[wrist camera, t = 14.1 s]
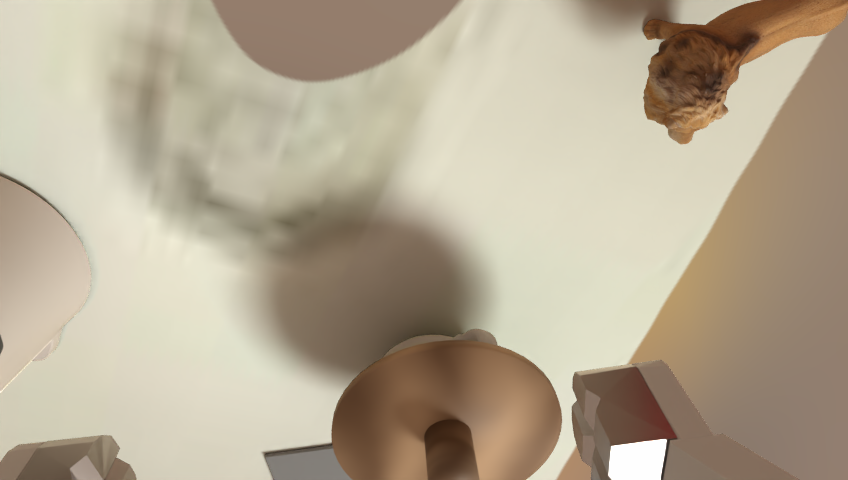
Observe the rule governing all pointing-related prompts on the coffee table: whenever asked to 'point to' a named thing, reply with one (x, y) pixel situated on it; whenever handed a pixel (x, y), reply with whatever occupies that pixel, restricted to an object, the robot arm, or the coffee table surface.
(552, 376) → the coffee table surface
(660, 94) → the lion figurine
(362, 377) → the lid
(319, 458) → the mat
